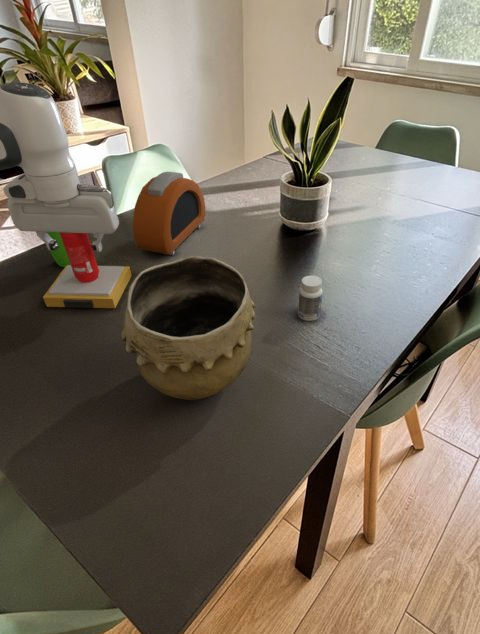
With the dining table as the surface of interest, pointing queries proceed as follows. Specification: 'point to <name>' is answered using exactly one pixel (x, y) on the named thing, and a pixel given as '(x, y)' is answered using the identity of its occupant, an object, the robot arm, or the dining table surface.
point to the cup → (59, 250)
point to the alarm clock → (167, 212)
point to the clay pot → (189, 326)
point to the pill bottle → (310, 298)
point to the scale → (89, 289)
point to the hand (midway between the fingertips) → (75, 249)
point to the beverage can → (80, 256)
